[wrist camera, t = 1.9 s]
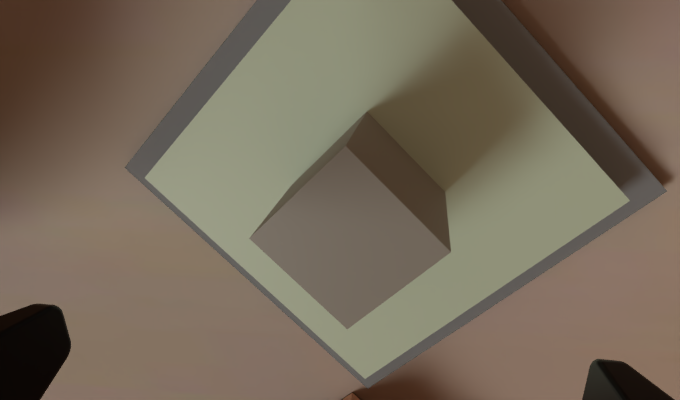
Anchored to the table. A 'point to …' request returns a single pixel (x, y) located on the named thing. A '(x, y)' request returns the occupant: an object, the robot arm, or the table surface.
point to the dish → (351, 397)
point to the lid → (381, 171)
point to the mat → (523, 57)
